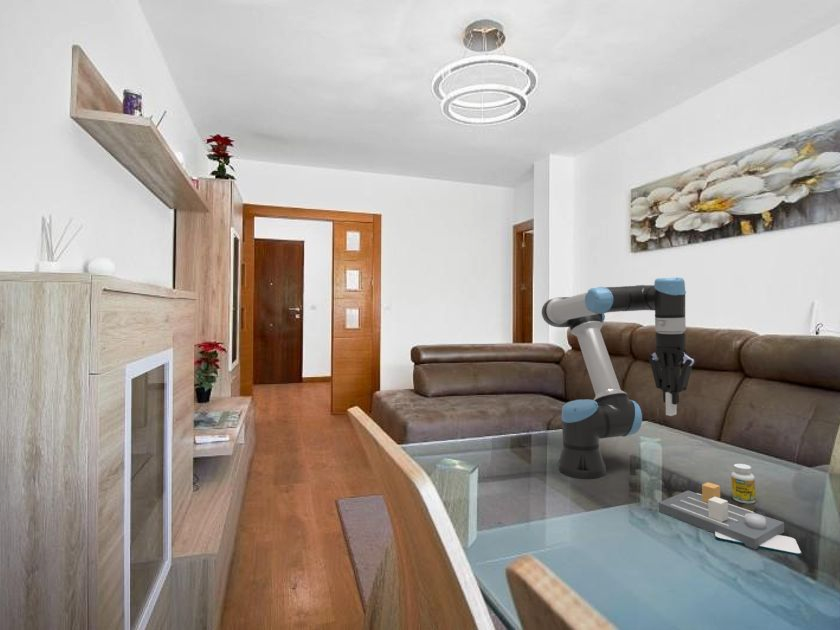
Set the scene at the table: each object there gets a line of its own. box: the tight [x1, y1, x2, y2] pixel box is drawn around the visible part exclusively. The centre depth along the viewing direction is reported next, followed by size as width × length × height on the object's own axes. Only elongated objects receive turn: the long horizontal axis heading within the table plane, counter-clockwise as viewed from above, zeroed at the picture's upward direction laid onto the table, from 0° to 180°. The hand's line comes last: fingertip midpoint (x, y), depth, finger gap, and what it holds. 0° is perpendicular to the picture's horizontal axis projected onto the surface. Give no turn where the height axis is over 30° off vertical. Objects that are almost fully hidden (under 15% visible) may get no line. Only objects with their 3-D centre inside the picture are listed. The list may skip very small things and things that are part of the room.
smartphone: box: [713, 531, 802, 556], centre depth 106 cm, size 8×1×16 cm
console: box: [658, 489, 785, 551], centre depth 115 cm, size 23×14×4 cm, turn 29°
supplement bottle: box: [730, 463, 757, 505], centre depth 126 cm, size 5×5×10 cm
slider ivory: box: [708, 497, 729, 522], centre depth 111 cm, size 3×3×4 cm
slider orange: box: [701, 481, 721, 503], centre depth 120 cm, size 3×3×4 cm
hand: (671, 414), depth 128 cm, fingers closed
